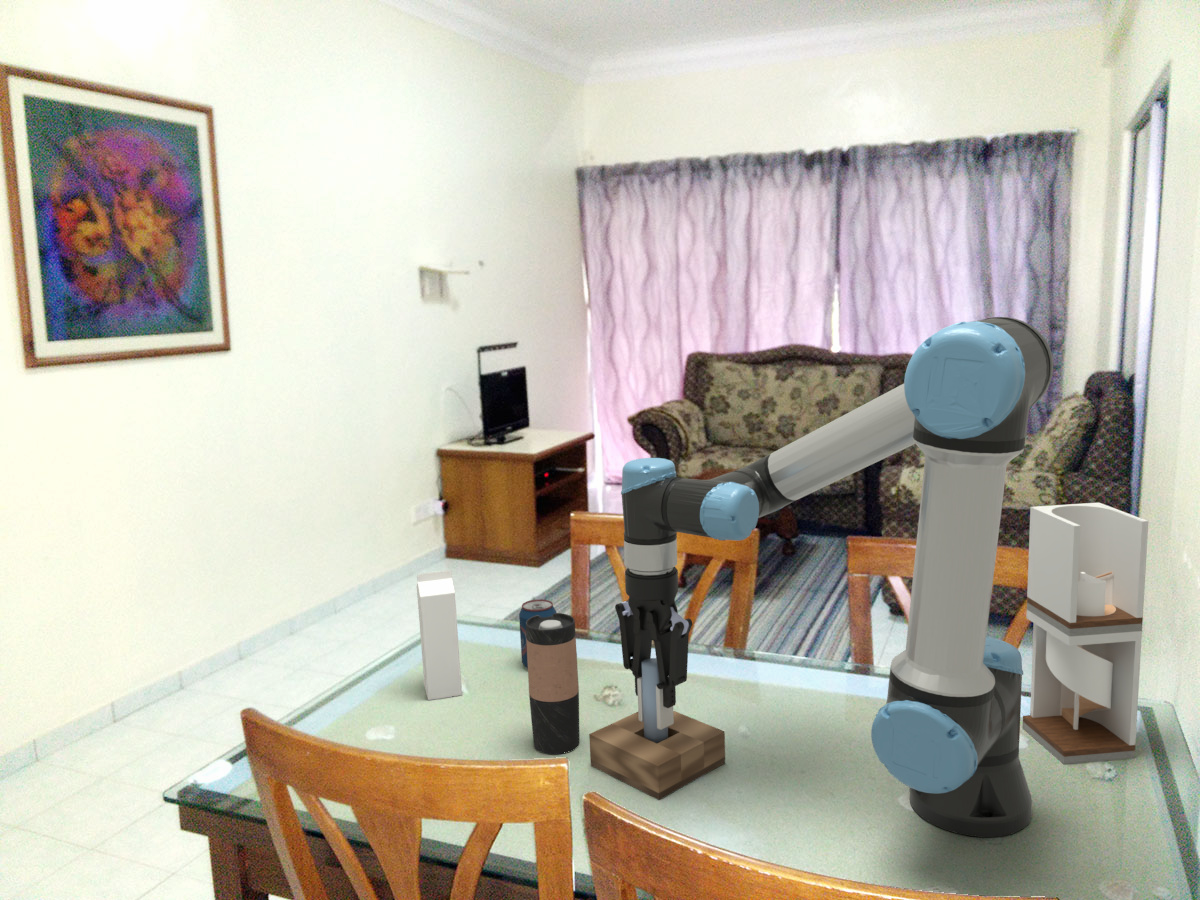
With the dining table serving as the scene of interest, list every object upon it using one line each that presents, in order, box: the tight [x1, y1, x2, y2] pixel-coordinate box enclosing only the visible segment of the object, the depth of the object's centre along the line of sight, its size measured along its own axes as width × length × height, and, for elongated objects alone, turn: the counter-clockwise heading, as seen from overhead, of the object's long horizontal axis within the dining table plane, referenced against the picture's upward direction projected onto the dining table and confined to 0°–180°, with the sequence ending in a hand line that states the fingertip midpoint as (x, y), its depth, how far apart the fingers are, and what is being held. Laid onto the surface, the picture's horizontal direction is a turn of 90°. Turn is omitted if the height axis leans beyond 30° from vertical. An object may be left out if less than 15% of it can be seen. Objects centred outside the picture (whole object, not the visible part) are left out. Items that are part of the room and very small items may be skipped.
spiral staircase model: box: [1021, 502, 1149, 765], centre depth 142 cm, size 11×11×35 cm
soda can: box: [518, 599, 557, 670], centre depth 181 cm, size 7×7×12 cm
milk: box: [416, 569, 463, 701], centre depth 171 cm, size 6×6×22 cm
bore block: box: [588, 710, 726, 801], centre depth 143 cm, size 14×14×5 cm
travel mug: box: [526, 612, 580, 755], centre depth 150 cm, size 8×8×20 cm
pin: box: [642, 657, 668, 743], centre depth 142 cm, size 4×4×14 cm
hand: (656, 721), depth 143 cm, fingers closed on pin, 3 cm apart
